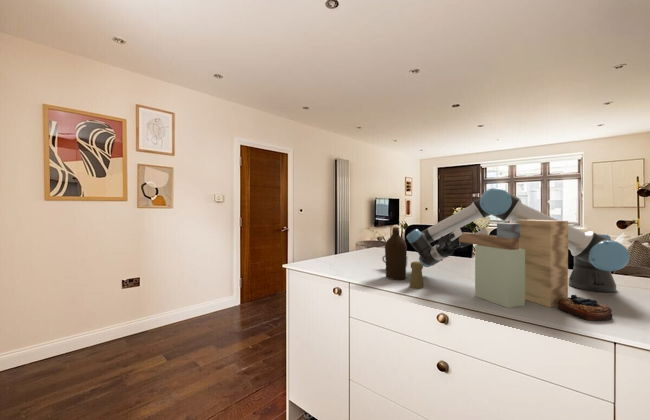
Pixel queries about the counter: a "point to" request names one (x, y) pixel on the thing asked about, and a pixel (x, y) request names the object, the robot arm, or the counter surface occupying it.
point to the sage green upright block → (500, 275)
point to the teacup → (385, 261)
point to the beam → (496, 237)
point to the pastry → (585, 308)
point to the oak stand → (545, 260)
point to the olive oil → (395, 256)
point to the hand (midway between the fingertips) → (473, 230)
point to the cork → (416, 275)
